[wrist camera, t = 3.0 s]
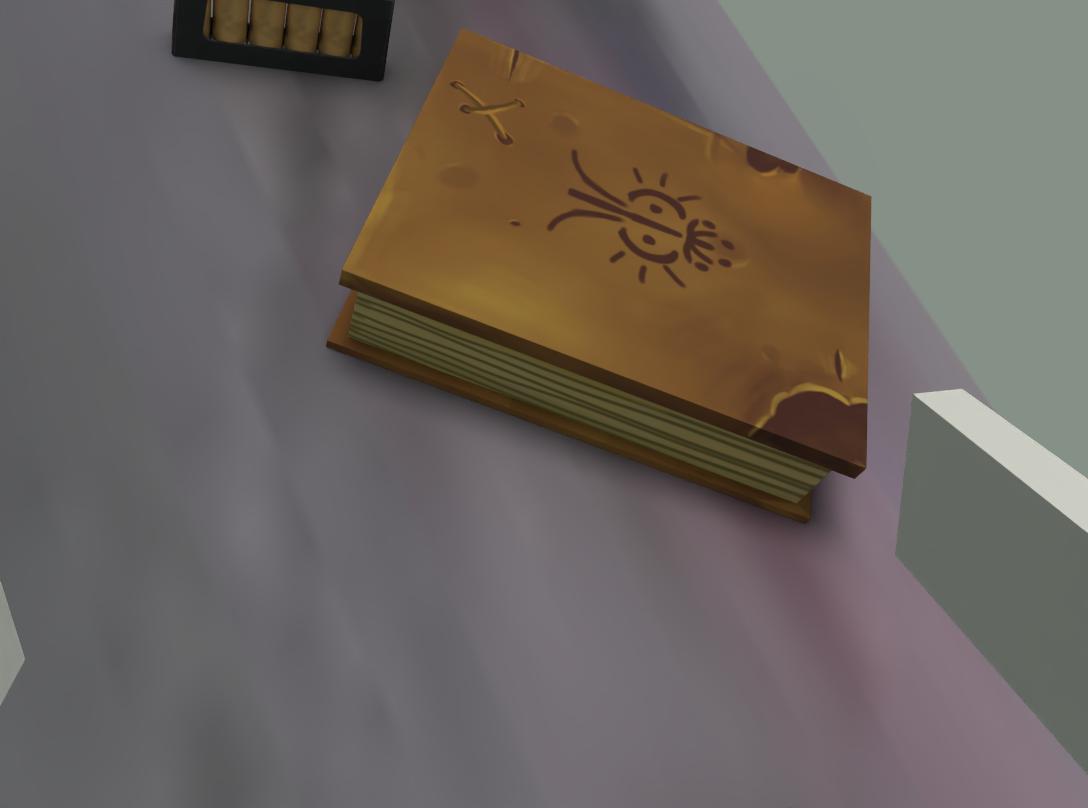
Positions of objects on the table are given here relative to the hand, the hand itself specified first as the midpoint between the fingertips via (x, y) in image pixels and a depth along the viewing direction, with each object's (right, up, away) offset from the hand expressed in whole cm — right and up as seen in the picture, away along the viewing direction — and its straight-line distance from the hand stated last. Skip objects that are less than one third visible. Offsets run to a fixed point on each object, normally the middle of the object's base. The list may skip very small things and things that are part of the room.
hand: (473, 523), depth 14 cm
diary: (+4, +7, +36) cm, 37 cm away
